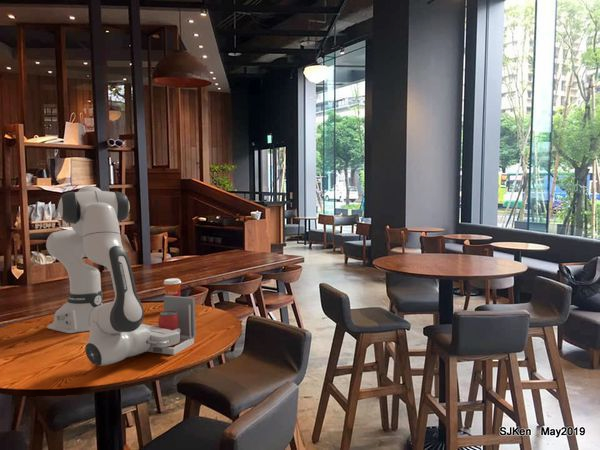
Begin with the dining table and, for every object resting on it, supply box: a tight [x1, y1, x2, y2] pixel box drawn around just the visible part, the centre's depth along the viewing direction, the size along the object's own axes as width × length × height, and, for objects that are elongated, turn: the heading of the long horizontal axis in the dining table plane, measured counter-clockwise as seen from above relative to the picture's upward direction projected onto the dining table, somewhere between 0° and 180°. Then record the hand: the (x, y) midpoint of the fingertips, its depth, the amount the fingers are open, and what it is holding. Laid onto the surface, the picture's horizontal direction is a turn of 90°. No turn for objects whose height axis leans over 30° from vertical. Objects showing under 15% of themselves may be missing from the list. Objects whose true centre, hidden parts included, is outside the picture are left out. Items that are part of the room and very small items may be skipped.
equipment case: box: [146, 295, 197, 356], centre depth 160 cm, size 12×14×16 cm
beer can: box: [157, 310, 180, 348], centre depth 160 cm, size 7×7×12 cm
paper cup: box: [163, 278, 182, 297], centre depth 210 cm, size 8×8×14 cm
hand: (170, 328), depth 161 cm, fingers closed on beer can, 7 cm apart
